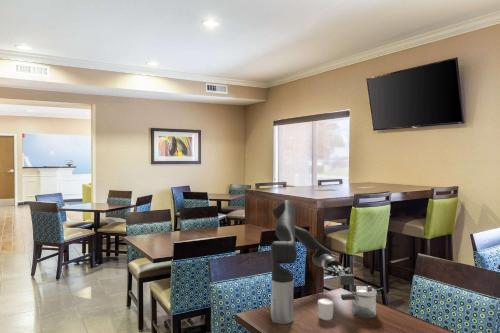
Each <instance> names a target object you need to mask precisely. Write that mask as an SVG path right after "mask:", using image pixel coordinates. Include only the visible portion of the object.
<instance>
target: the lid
mask: <svg viewBox="0 0 500 333" xmlns="http://www.w3.org/2000/svg"><path fill="white" fill-rule="evenodd" d="M338 284H339V286H349V290H350V292H351V294H352V293H353V294H355V295H357V296H362V297H373V296H376V297H377V293H378V291H377V289H375V288H373V286H372V285H366V286H365V285H357V284H356V283H355V275H354V274H353V273H350V274H339V277H338Z"/></svg>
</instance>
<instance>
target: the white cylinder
mask: <svg viewBox="0 0 500 333" xmlns="http://www.w3.org/2000/svg"><path fill="white" fill-rule="evenodd" d="M317 307H318V318H319V319H321V320H323V321H331V320H333V318H334V317H333V316H334V307H335V301H334V300H333V299H330V298H319V299H318V300H317Z"/></svg>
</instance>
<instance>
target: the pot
mask: <svg viewBox="0 0 500 333" xmlns="http://www.w3.org/2000/svg"><path fill="white" fill-rule="evenodd" d="M340 298H341V299H342V301H351V302H352V304H351V306H352V307H351V312H352V314H353V315H354V316H356V317H359V318H363V319H372V318H374V317H376V316H377V295H376V296H373V297H362V296H357V295H355V294H353V293H352V292H351V293H345V294H341V295H340Z"/></svg>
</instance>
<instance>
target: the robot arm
mask: <svg viewBox="0 0 500 333" xmlns="http://www.w3.org/2000/svg"><path fill="white" fill-rule="evenodd" d="M272 214H273V216H274V217H275V219H276V220H277V221H276V223H275V236H276V237H277V239H278V240H276V241H275V240H274V241H272V242H271V246H270V258H271V260H270V262H271V295H270V319H271V321H272V323H273V324H281V325H285V324H286V325H287V324H290V323H291V324H292V323H293V321H294V273H293V271H291V270H289V269H287V268H286V267H285V268H284V267H283V266H281V265H280V264H285V265H286V264H289V265H290V264H294V263H295V262H296V261H297V257H298V251H297V243H296V238H297V240H298V241H299V242H300V243H301V244H302V246H303V247H304V249H306V250H307V251H308V252H312V251H314V250H317V249H318V250H317V251H316V252H315V253H313V254H312V256H311V261H312V263H313V264H314V265H315V266H316V267H319V268H323V269H324V270H323V273H324V275H326V276H331V277H338V278H339V274H351V267H344V266H342V263H341V262H340V261H338V259H337V258H335V257H333V256H332V253H331V251H330V250H329V249H328V248H327V247H325V246H324V245H322V244H321V243H319V242H318V240H316V238H315V237H314V236H313V234H311V232H310V231H308V230H307V229H305V228H302V227H300V226H297V225H296V224H295V219H296V208H295V206H294V204H293V202H292V201H290V200H288V199H285V200H282V201H281V202H280V203H279V204H277V205H276V206H275V207H273V208H272Z"/></svg>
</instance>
